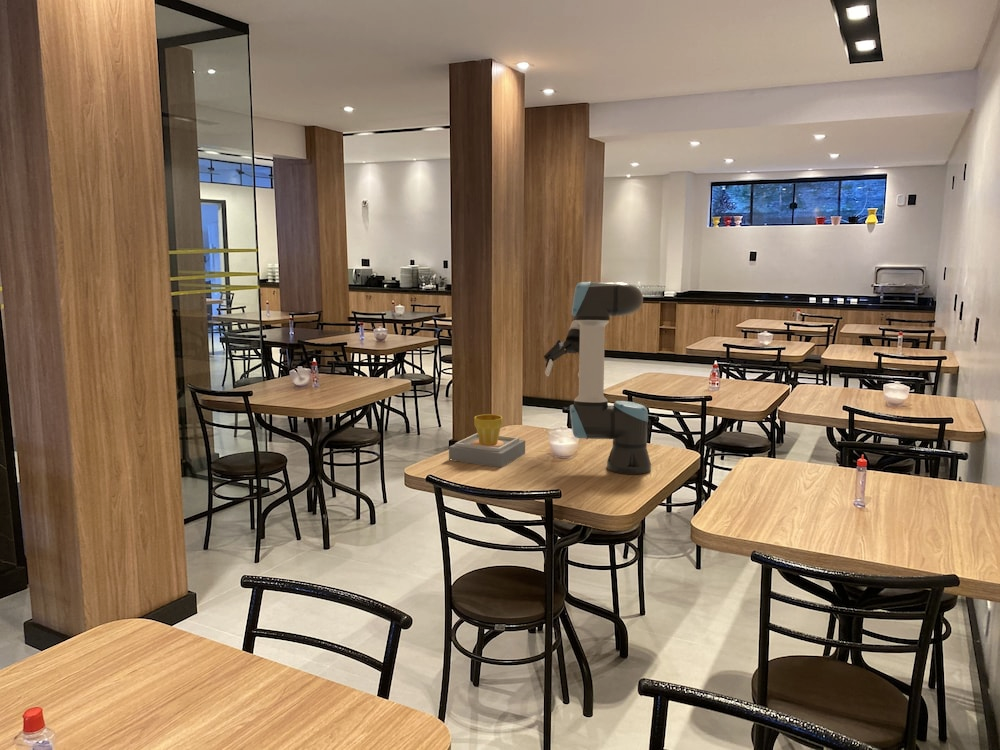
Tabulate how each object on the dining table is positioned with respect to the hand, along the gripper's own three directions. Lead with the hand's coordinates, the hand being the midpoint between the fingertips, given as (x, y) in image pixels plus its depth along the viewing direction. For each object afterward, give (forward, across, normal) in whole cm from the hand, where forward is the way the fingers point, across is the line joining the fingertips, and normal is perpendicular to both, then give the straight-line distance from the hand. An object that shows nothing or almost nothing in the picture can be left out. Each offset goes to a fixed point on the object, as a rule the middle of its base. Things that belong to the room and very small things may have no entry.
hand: (562, 375), depth 282 cm
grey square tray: (+40, +18, +1) cm, 44 cm away
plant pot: (+36, +17, +4) cm, 40 cm away
